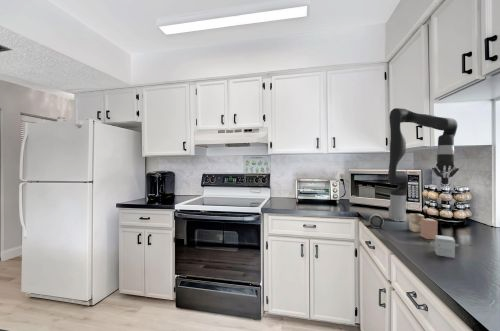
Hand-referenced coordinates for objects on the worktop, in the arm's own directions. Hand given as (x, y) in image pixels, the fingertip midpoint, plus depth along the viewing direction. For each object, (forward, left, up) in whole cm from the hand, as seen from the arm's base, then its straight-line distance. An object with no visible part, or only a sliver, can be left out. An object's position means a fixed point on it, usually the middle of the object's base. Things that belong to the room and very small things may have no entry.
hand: (444, 184), depth 140 cm
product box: (+25, -35, -27) cm, 51 cm away
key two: (+9, -23, -26) cm, 35 cm away
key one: (-2, -17, -26) cm, 31 cm away
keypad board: (+5, -17, -27) cm, 32 cm away
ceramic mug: (-21, -29, -27) cm, 45 cm away
